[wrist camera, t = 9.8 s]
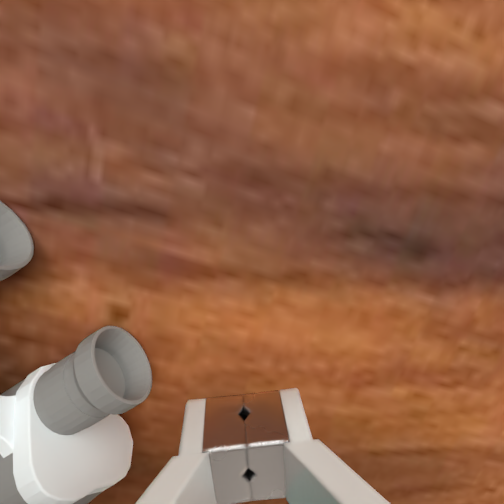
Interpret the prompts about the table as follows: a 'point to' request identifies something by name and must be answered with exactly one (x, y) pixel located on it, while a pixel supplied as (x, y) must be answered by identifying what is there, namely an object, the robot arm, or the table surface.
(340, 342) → the table surface
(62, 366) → the binoculars
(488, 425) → the table surface
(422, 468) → the table surface
